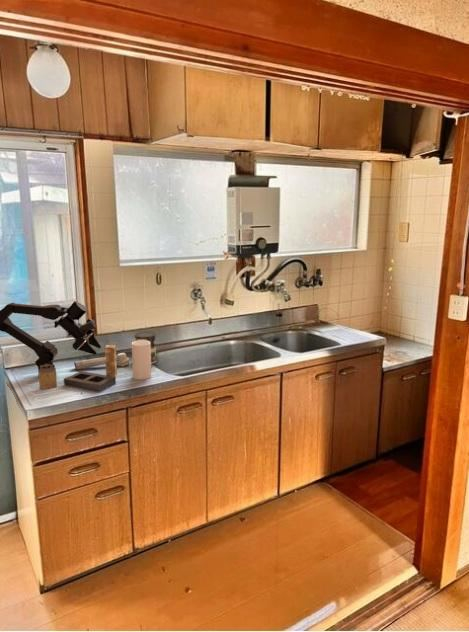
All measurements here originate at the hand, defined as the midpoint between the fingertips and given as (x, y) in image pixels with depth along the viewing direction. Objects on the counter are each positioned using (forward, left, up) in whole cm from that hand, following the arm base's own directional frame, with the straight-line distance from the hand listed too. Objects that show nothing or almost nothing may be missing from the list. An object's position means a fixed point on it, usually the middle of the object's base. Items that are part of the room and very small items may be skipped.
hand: (98, 350), depth 208 cm
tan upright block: (-21, -8, -12) cm, 26 cm away
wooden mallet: (+2, +12, -12) cm, 17 cm away
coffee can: (+23, +14, -12) cm, 30 cm away
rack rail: (-5, -10, -12) cm, 16 cm away
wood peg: (+5, -2, -12) cm, 13 cm away
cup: (+18, -7, -12) cm, 23 cm away
